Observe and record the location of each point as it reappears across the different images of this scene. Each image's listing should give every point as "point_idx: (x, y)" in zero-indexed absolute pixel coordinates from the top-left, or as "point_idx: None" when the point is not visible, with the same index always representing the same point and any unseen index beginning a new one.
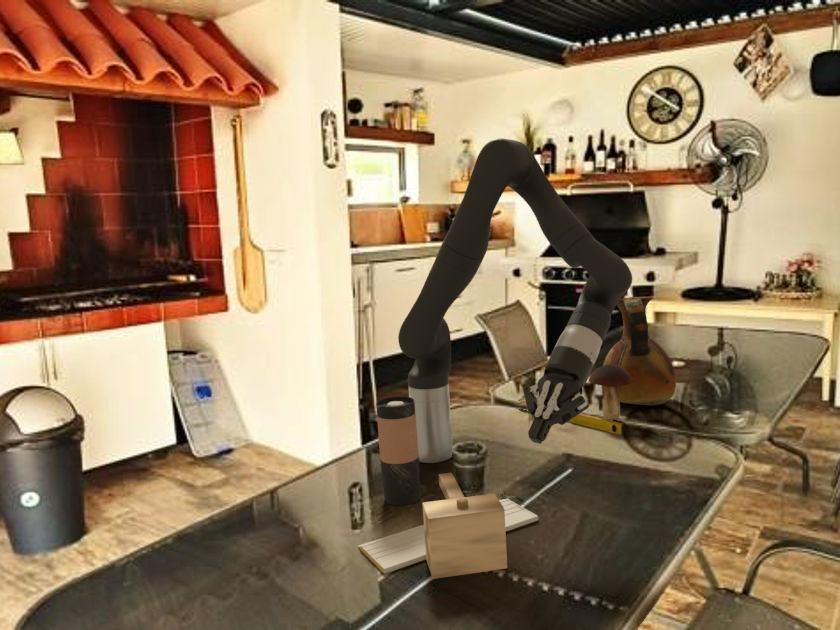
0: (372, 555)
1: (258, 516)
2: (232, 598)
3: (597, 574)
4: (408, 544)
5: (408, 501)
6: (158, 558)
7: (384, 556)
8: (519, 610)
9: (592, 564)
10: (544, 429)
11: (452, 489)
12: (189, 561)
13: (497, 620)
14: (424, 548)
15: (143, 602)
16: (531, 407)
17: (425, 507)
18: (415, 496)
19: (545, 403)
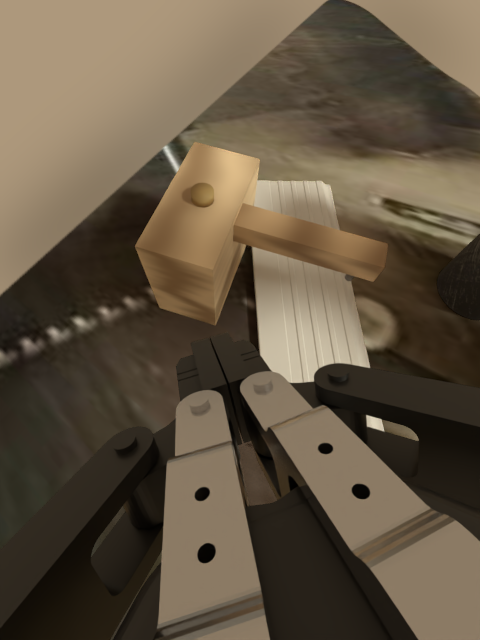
0: (288, 183)
1: (469, 131)
2: (286, 80)
3: (42, 414)
4: None
5: (440, 285)
6: (398, 56)
7: (277, 192)
8: (66, 265)
9: (70, 430)
10: (179, 382)
11: (294, 228)
12: (379, 70)
13: (71, 235)
14: None
15: (319, 40)
16: (339, 377)
17: (237, 155)
18: (450, 296)
19: (277, 454)
